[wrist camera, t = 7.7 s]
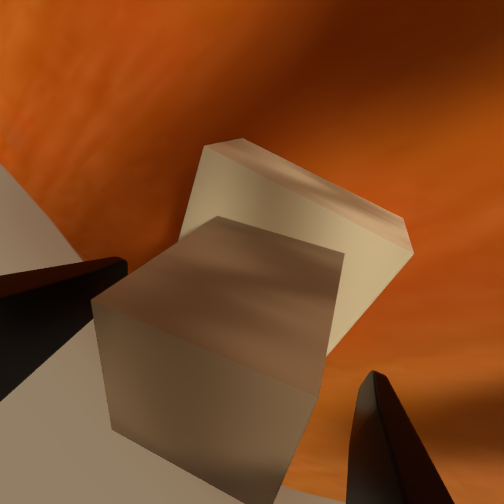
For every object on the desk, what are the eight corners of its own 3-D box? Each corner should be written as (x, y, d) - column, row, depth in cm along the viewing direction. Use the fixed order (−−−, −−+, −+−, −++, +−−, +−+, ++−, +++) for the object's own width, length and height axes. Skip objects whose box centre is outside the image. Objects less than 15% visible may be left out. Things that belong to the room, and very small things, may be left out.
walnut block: (344, 253, 10) (318, 397, 5) (309, 351, 12) (267, 516, 7) (217, 215, 11) (90, 300, 6) (208, 312, 14) (111, 429, 8)
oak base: (402, 215, 12) (413, 253, 9) (316, 329, 17) (302, 384, 13) (245, 137, 13) (204, 145, 10) (201, 263, 18) (162, 298, 14)
